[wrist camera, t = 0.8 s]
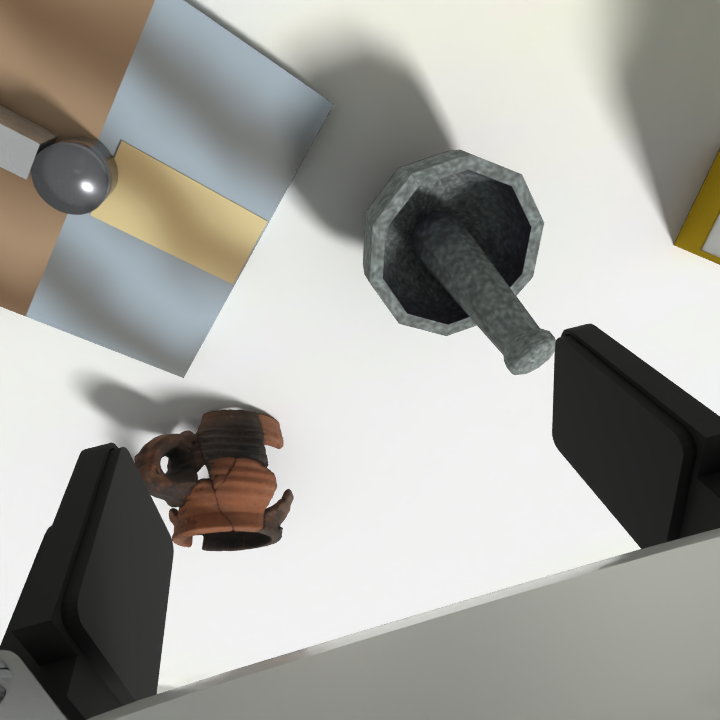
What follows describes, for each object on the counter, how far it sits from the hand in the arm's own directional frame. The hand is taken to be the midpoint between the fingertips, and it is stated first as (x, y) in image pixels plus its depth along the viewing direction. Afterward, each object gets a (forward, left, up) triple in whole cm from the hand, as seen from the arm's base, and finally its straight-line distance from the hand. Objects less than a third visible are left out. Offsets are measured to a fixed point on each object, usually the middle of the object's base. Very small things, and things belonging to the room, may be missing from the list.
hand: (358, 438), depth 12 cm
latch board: (+4, -10, -24) cm, 26 cm away
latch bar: (+4, -13, -22) cm, 26 cm away
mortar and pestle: (-3, +9, -24) cm, 26 cm away
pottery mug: (+19, +5, -24) cm, 31 cm away
